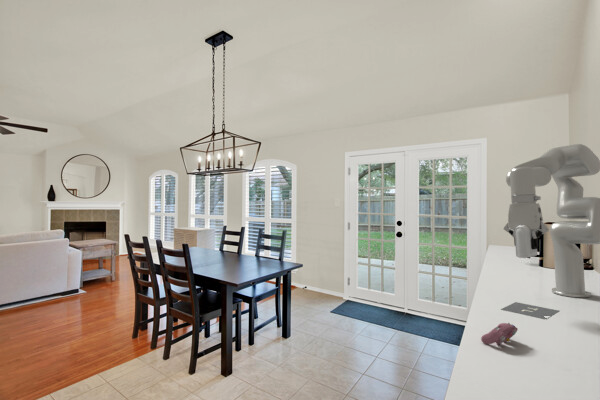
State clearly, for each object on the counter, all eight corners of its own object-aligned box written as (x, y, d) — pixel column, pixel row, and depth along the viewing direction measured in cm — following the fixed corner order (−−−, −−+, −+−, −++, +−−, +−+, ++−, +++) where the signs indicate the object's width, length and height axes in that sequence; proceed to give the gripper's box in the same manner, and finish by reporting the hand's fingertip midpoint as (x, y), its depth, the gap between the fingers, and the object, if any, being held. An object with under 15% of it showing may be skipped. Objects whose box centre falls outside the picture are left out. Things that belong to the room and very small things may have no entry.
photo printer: (525, 254, 119) (524, 222, 119) (539, 255, 115) (537, 223, 116) (514, 257, 113) (512, 224, 114) (527, 258, 110) (525, 224, 110)
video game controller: (493, 353, 85) (504, 334, 82) (478, 340, 88) (488, 322, 86) (513, 345, 89) (523, 327, 87) (498, 333, 93) (508, 315, 90)
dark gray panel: (515, 302, 123) (515, 301, 123) (559, 311, 112) (559, 310, 112) (500, 309, 115) (500, 309, 115) (546, 320, 104) (546, 319, 104)
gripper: (554, 198, 110) (558, 249, 110) (502, 200, 124) (505, 245, 124) (547, 199, 106) (550, 251, 105) (494, 201, 120) (497, 247, 119)
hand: (526, 248), depth 115 cm, fingers closed on photo printer, 4 cm apart
